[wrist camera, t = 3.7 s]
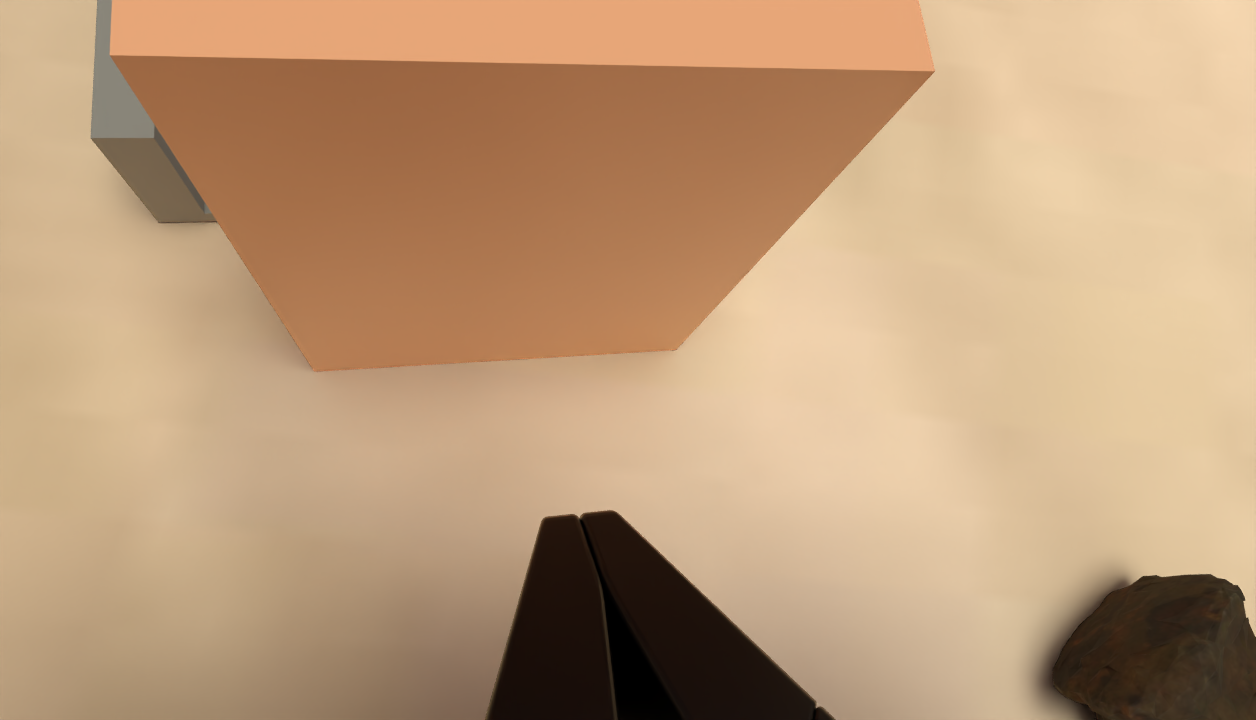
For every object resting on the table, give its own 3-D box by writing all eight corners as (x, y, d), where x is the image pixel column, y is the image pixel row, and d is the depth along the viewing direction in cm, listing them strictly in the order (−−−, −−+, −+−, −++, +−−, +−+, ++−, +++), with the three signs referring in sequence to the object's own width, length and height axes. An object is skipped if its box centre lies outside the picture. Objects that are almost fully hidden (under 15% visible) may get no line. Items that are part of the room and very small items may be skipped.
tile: (675, 350, 19) (934, 71, 9) (314, 371, 18) (108, 54, 7) (660, 231, 20) (881, -155, 10) (311, 240, 18) (121, -221, 8)
